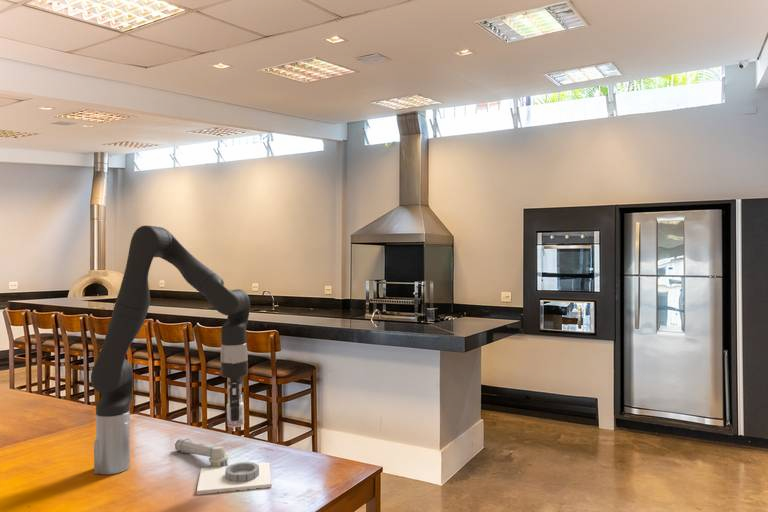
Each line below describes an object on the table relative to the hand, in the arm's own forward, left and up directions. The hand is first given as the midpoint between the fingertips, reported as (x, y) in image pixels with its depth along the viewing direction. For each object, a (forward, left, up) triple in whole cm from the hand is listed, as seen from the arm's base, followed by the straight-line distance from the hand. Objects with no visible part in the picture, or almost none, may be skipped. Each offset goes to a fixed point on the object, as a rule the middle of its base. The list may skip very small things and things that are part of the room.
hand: (235, 417), depth 164 cm
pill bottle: (0, 0, -2) cm, 2 cm away
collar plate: (0, 0, -18) cm, 18 cm away
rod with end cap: (-11, +19, -19) cm, 29 cm away
